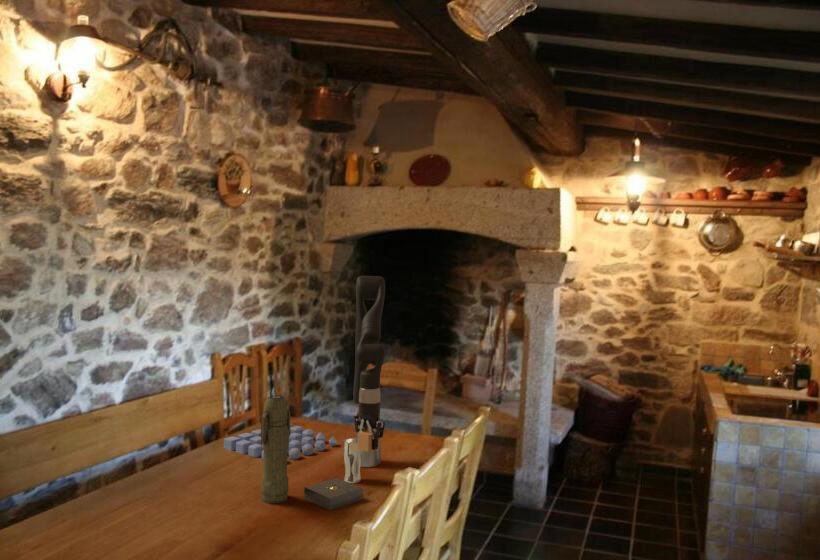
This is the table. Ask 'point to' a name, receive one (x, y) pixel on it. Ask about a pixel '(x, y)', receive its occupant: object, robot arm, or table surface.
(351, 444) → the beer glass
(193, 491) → the table surface
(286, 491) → the green stone statue
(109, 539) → the table surface
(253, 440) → the blocks
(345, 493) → the plate
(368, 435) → the light brown cube
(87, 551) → the table surface
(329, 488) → the pin
